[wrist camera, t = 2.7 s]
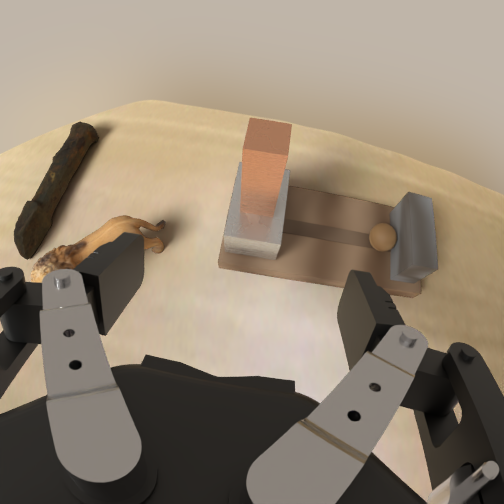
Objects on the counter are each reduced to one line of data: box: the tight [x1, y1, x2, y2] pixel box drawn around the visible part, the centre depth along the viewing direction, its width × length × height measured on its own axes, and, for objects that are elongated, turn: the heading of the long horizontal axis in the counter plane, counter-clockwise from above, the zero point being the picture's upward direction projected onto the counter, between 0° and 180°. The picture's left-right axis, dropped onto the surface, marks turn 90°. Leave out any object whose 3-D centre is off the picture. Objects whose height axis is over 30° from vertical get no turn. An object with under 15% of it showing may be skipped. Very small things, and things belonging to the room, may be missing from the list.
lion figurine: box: [31, 216, 166, 283], centre depth 29 cm, size 15×5×9 cm, turn 134°
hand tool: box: [14, 122, 99, 260], centre depth 34 cm, size 19×4×5 cm, turn 164°
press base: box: [218, 179, 438, 298], centre depth 32 cm, size 22×10×7 cm, turn 81°
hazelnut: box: [369, 223, 397, 252], centre depth 32 cm, size 3×3×3 cm
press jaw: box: [224, 118, 292, 260], centre depth 27 cm, size 5×8×13 cm, turn 171°
